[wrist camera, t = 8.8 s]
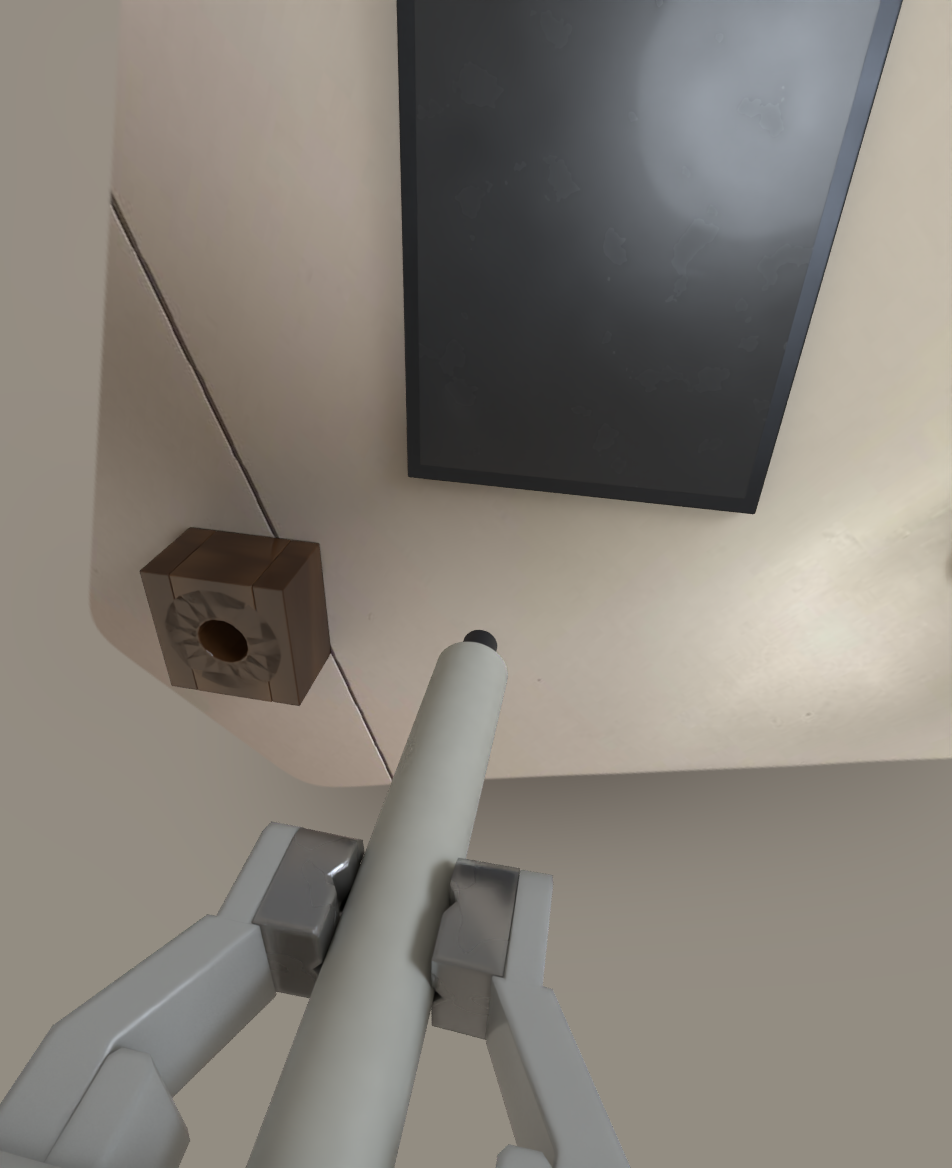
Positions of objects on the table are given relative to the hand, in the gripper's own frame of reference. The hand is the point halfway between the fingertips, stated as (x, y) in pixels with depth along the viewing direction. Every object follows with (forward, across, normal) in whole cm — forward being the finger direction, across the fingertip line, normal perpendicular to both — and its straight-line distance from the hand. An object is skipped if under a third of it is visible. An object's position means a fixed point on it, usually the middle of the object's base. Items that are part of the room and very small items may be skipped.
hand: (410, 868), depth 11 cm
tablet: (+25, -2, -8) cm, 26 cm away
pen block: (+25, +16, +14) cm, 33 cm away
